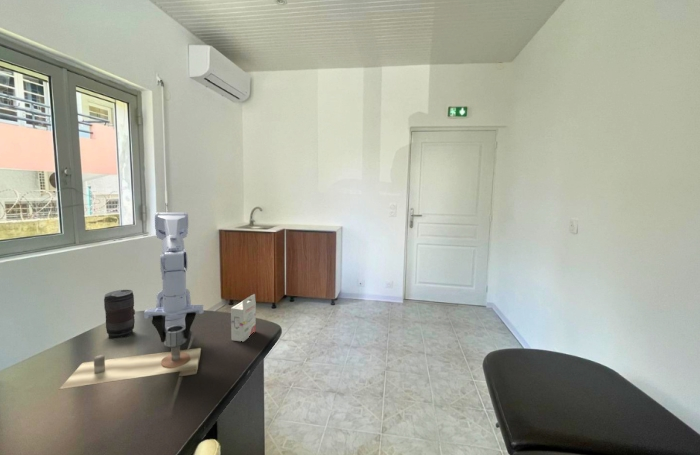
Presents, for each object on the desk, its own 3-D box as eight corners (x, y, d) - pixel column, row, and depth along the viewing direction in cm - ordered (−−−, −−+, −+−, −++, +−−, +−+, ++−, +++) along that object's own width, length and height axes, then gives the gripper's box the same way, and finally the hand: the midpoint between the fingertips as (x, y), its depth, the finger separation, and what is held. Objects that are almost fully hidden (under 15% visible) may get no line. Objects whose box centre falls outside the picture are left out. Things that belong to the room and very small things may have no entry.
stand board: (82, 367, 84) (81, 347, 84) (200, 352, 95) (200, 334, 95) (59, 394, 73) (58, 372, 73) (196, 373, 84) (196, 353, 83)
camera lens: (118, 328, 108) (116, 288, 106) (140, 329, 108) (139, 289, 106) (99, 339, 100) (97, 296, 98) (123, 340, 100) (121, 297, 98)
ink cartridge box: (243, 329, 112) (244, 291, 110) (255, 331, 111) (256, 293, 109) (230, 340, 104) (230, 299, 102) (243, 342, 103) (243, 301, 101)
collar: (166, 339, 88) (166, 326, 88) (187, 336, 90) (187, 323, 90) (162, 347, 83) (162, 334, 83) (184, 345, 85) (184, 331, 85)
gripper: (140, 300, 79) (141, 349, 80) (201, 296, 84) (201, 342, 85) (147, 291, 85) (148, 337, 87) (203, 288, 91) (204, 331, 92)
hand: (175, 339), depth 87 cm, fingers closed on collar, 5 cm apart
